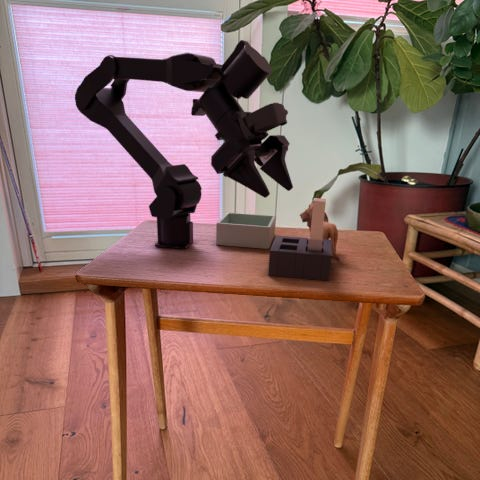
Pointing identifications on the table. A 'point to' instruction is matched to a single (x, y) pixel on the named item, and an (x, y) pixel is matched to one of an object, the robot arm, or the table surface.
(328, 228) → the lion figurine
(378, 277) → the table surface
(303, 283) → the table surface
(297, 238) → the caddy
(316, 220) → the pink rectangular bar
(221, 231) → the tub
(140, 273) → the table surface
